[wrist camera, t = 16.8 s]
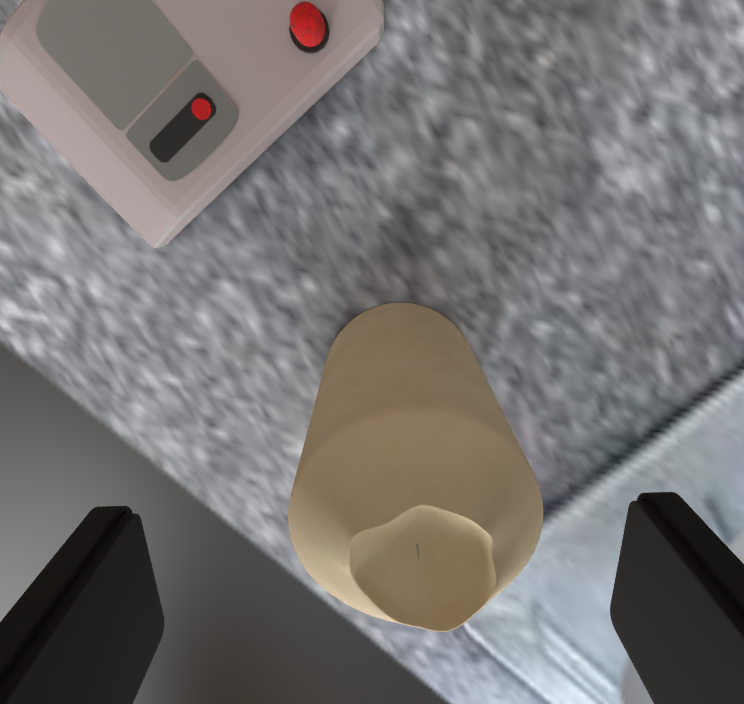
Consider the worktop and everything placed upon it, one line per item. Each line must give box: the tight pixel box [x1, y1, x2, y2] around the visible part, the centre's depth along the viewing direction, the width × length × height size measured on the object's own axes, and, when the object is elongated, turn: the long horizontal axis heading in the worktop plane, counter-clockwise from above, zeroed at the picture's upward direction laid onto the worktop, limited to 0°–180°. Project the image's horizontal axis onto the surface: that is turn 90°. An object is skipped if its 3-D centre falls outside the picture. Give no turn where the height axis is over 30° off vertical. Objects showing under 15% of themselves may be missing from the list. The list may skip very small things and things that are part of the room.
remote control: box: [0, 0, 384, 248], centre depth 14 cm, size 7×16×3 cm, turn 130°
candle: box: [288, 303, 543, 632], centre depth 14 cm, size 6×6×10 cm
